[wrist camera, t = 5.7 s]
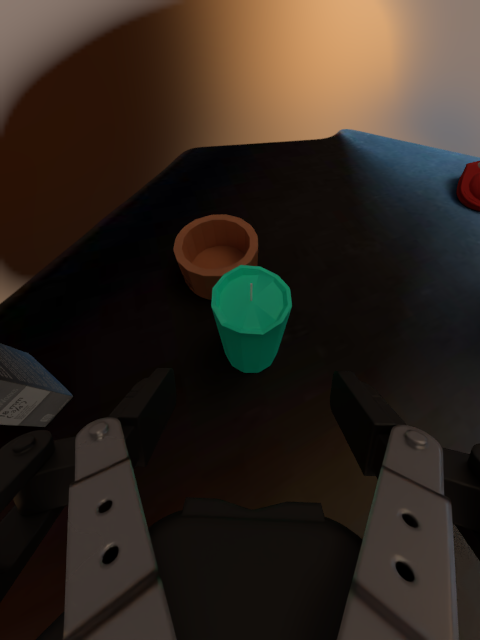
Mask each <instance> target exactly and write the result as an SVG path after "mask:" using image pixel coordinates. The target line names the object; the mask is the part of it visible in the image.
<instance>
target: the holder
mask: <svg viewBox="0 0 480 640" xmlns="http://www.w3.org/2000/svg"><path fill="white" fill-rule="evenodd" d="M173 250H174V253H175V256H176V259H177V262H178V265H179V267H180V269H181V272H182V274H183V277H184V279H185V282H186V284H187V285H188V287H189V288H190V289H191V290H192V291H193V292H194V293H195V294H197V295H198V296H200V297H202V298H205V299H209V300H212V288H213V287H214V286H215V284H216V283H217V282H218V281H219V279H220V278H221V277H222V276H223V274H225V273H227V272H229V271H231V270H232V269H234V268H236V267H238V266H240V265H248V266H257V260H258V236H257V234H256V232H255V231H254V229H253V227H252V226H251V225H250V224H248V223H247V222H245V221H244V220H242V219H241V218H238V217H234V216H230V215H209V216H206V217H202V218H199V219H196V220H194V221H193V222H191V223H189V224H188V225H186V226H185V227H184V228H183V229H182V230H181V231H180V233H179V234H178V235H177V237H176V240H175V244H174V248H173Z"/></svg>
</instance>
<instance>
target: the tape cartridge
mask: <svg viewBox="0 0 480 640" xmlns="http://www.w3.org/2000/svg"><path fill="white" fill-rule="evenodd" d="M72 397H73V395H72V394H71V393H70V392H69V391H68V390H67V389H66V388H65V387H64V386H63V385H62V384H61V383H60V382H59V381H58V380H57V379H56V378H55V377H54V376H53V375H52V374H51V373H50V372H48V371H47V370H46V369H45V368H44V367H43V366H42V365H41V364H40V363H39V362H38V361H37V360H35V359H34V358H33V357H32V356H31V355H30V354H29V353H26V352H23V351H20V350H17V349H15V348H12V347H9V346H6V345H3V344H1V343H0V425H18V426H36V427H45V426H47V425H48V424H49V423H50V422H51V421H52V420H53V418H54V417H55V416H56V415H57V414H58V413H59V412H60V411H61V410H62V409H63V407H64V406H65V405H66V404H67V403H68V402H69V401H70V400H71V399H72Z"/></svg>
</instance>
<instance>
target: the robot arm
mask: <svg viewBox="0 0 480 640" xmlns="http://www.w3.org/2000/svg"><path fill="white" fill-rule="evenodd" d="M175 404H176V387H175V378H174V371H173V369H172V368H157V369H156V370H155V371H154V372H153V373H152V375H151V376H150V377H149V378H144V379H143V380H141V381H140V382H138V383H137V384H136V385H135V386H134V387H133V388H132V389H131V390H130V392H129V393H128V394H127V395H126V396H125V398H124V399H123V400H122V401H121V402H120V403H119V404H118V406H117V407H116V408H115V409H114V410H113V411H112V413H111V414H110V415H109V416H108V417H107V418H101V419H98V420H96V421H93V422H91V423H89V424H88V425H86V426H85V427H84V428H82V429H81V430H80V431H79V433H78V434H77V436H74V437H69V438H65V439H60V440H55V441H53V438H52V435H51V433H50V432H49V431H47V430H37V431H32V432H29V433H26V434H23V435H21V436H19V437H17V438H15V439H13V440H12V441H10V442H9V443H7V444H6V445H4V446H3V447H2V448H1V449H0V512H1V511H2V510H3V509H4V508H5V507H6V506H7V505H8V503H9V502H10V501H11V500H12V499H13V500H14V502H15V506H14V507H13V508H12V509H11V511H10V512H9V513H8V514H7V515H6V516H5V517H4V519H3V520H2V521H1V522H0V602H1V601H2V599H3V598H4V596H5V595H6V593H7V592H8V590H9V589H10V587H11V586H12V584H13V583H14V581H15V580H16V578H17V577H18V575H19V574H20V572H21V571H22V569H23V568H24V566H25V565H26V563H27V562H28V560H29V559H30V557H31V556H32V554H33V553H34V551H35V550H36V548H37V547H38V545H39V544H40V543H41V541H42V540H43V538H44V537H45V535H46V534H47V532H48V531H49V529H50V528H51V526H52V525H53V523H54V522H55V520H56V519H57V517H58V516H59V514H60V513H61V511H62V510H63V508H64V507H65V505H69V506H68V534H67V561H66V588H65V611H64V612H63V613H62V614H61V615H60V616H59V617H58V618H57V619H56V620H55V621H54V622H53V623H52V624H51V625H50V626H49V627H48V628H47V629H46V630H45V631H44V632H43V633H42V634H41V635H40V636H39V637H38V638H37V639H36V640H459V632H458V614H457V596H456V578H455V559H454V541H453V524H455V526H456V527H457V529H458V530H459V531H460V533H461V534H462V536H463V537H464V539H465V540H466V542H467V543H468V545H469V546H470V547H471V549H472V550H473V552H474V553H475V555H476V556H477V558H478V559H479V560H480V444H476V445H474V446H473V448H472V450H471V453H470V454H466V453H462V452H458V451H454V450H450V449H446V448H442V447H441V445H440V444H439V442H438V441H437V440H436V439H435V438H433V437H432V436H431V435H429V434H428V433H426V432H424V431H422V430H420V429H418V428H415V427H412V426H408V425H406V424H405V422H404V421H403V420H402V419H401V418H400V417H399V416H398V415H397V413H396V412H395V411H394V410H393V409H392V408H391V407H390V406H389V404H387V402H386V401H385V400H384V399H383V398H381V395H380V394H379V393H378V392H377V391H376V390H375V389H374V388H373V387H371V386H370V385H368V384H366V383H365V382H360V381H359V379H358V378H357V377H356V376H355V375H354V373H353V372H351V371H335V372H334V374H333V380H332V388H331V395H330V406H331V410H332V413H333V415H334V417H335V419H336V421H337V423H338V425H339V427H340V429H341V430H342V432H343V434H344V436H345V438H346V440H347V442H348V444H349V446H350V448H351V450H352V452H353V454H354V456H355V458H356V460H357V462H358V464H359V466H360V468H361V470H362V472H363V474H364V476H376V477H377V478H378V482H377V486H376V490H375V494H374V498H373V502H372V506H371V510H370V514H369V517H368V521H367V525H366V529H365V533H364V537H363V540H362V539H361V538H360V537H359V536H358V535H356V534H355V533H354V532H352V531H351V530H349V529H348V528H347V527H345V526H343V525H342V524H340V523H338V522H336V521H334V520H332V519H330V518H327V517H324V513H323V510H322V506H321V503H306V502H284V503H280V504H276V505H272V506H268V507H264V508H260V509H256V510H250V509H247V508H244V507H241V506H238V505H235V504H232V503H229V502H226V501H223V500H220V499H212V498H188V497H186V499H185V503H184V507H183V510H182V511H178V512H175V513H173V514H170V515H168V516H166V517H164V518H162V519H161V520H159V521H158V522H156V523H155V524H153V525H152V526H151V527H149V528H148V527H147V523H146V519H145V515H144V511H143V507H142V503H141V499H140V496H139V492H138V488H137V484H136V480H135V476H134V472H133V469H134V467H135V466H141V467H146V465H147V463H148V461H149V459H150V457H151V455H152V453H153V451H154V449H155V447H156V445H157V443H158V440H159V438H160V436H161V434H162V432H163V430H164V428H165V426H166V424H167V422H168V420H169V418H170V416H171V414H172V412H173V410H174V407H175Z"/></svg>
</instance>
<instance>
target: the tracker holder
mask: <svg viewBox="0 0 480 640" xmlns="http://www.w3.org/2000/svg"><path fill="white" fill-rule="evenodd" d="M457 197H458V199H459V200H460V202H461V203H462V204H464V205H465V206H466V207H468V208H470V209H473V210H476V211H480V161H477V162H473V163H469V164H466V167H465V169H464V172H463V173H462V175H461V177H460V179H459V182H458V185H457Z"/></svg>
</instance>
